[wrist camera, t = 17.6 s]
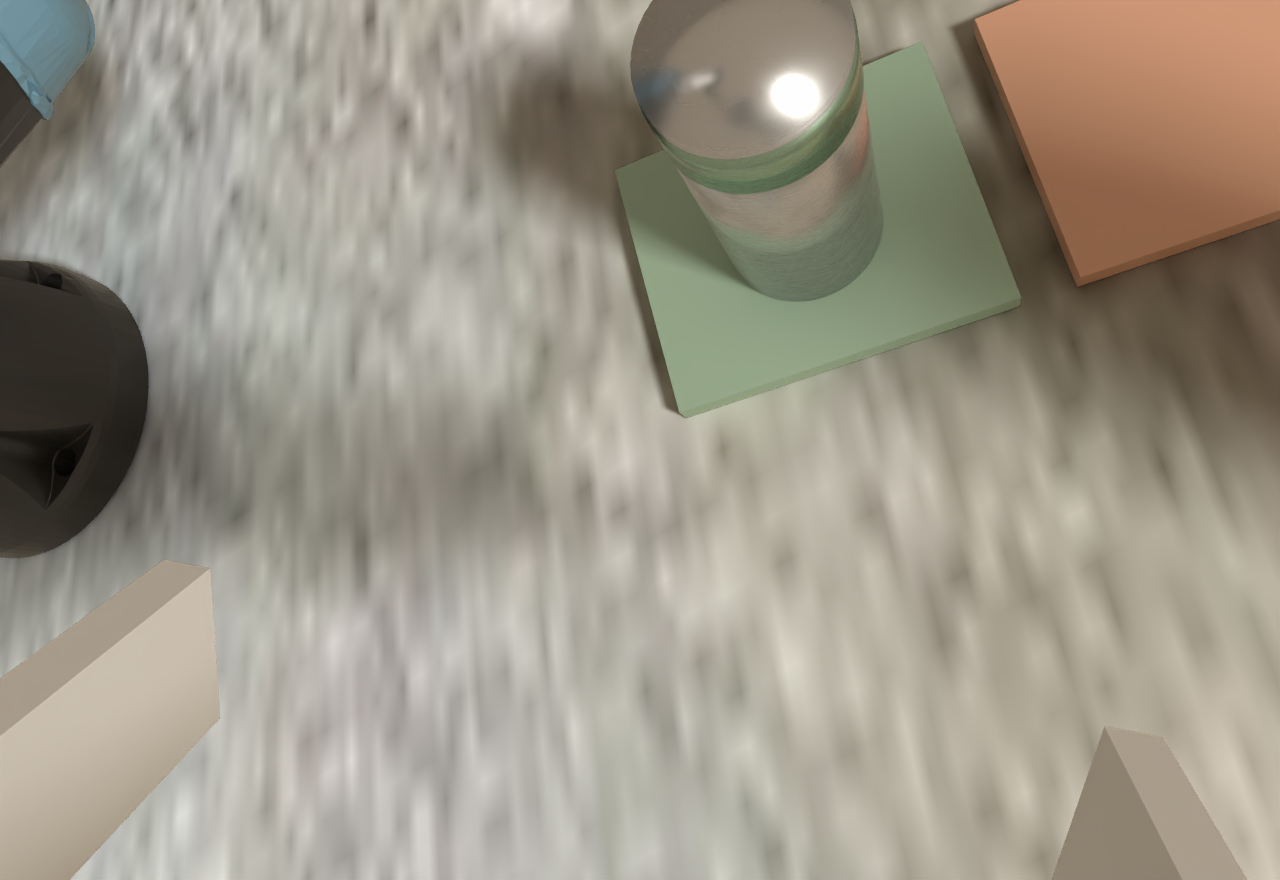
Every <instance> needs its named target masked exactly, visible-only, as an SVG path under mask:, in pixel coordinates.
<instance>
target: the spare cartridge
mask: <svg viewBox="0 0 1280 880" xmlns="http://www.w3.org/2000/svg"><path fill="white" fill-rule="evenodd" d="M630 68H631V80H632V84H633V89H634V92H635V95H636V97H637V100H638V103H639V105H640V108H641V110H642V113H643V115H644V116H645V118H646V120H647V122H648V123H649V125H650V127H651V129H652V130H653V132H654V134H655V135H656V137H657V139H658V140H659V142H660V144H661V146H662V147H663V149H664V151H665V152H666V154H667V156H668V157H669V159H670V160H671V161H672V163H673V164H674V165H675V166H676V168H677V169H678V171H679V173H680V175H681V176H682V178H683V180H684V181H685V183H686V185H687V186H688V188H689V190H690V192H691V193H692V195H693V197H694V198H695V200H696V202H697V204H698V205H699V207H700V209H701V210H702V212H703V214H704V216H705V217H706V219H707V221H708V222H709V224H710V226H711V228H712V229H713V231H714V233H715V234H716V236H717V238H718V240H719V241H720V243H721V245H722V246H723V248H724V250H725V251H726V253H727V255H728V257H729V258H730V260H731V262H732V263H733V265H734V267H735V269H736V270H737V272H738V273H739V275H740V276H741V277H742V278H743V280H744V281H746V282H747V283H748V284H749V285H750V286H751V287H752V288H754V289H755V290H757V291H758V292H760V293H762V294H764V295H766V296H769V297H771V298H774V299H778V300H783V301H791V302H804V301H811V300H817V299H820V298H823V297H827V296H829V295H831V294H834V293H836V292H838V291H839V290H841V289H843V288H845V287H846V286H848V285H849V284H850V283H852V282H853V281H854V280H855V279H856V278H857V277H858V276H859V275H860V274H861V273H862V272H863V271H864V270H865V269H866V267H867V266H868V265H869V263H870V262H871V260H872V259H873V257H874V255H875V253H876V251H877V249H878V246H879V243H880V240H881V237H882V230H883V212H882V204H881V198H880V191H879V184H878V178H877V171H876V164H875V158H874V151H873V144H872V138H871V131H870V124H869V118H868V111H867V104H866V98H865V91H864V73H863V65H862V58H861V52H860V45H859V38H858V31H857V24H856V19H855V15H854V12H853V9H852V6H851V3H850V0H653V1H652V2H651V4H650V5H649V7H648V9H647V10H646V12H645V13H644V15H643V18H642V20H641V22H640V24H639V26H638V29H637V32H636V35H635V38H634V41H633V46H632V51H631V63H630Z"/></svg>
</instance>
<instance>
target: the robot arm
mask: <svg viewBox="0 0 1280 880" xmlns="http://www.w3.org/2000/svg"><path fill="white" fill-rule="evenodd" d="M94 40H95V24H94V20H93V16H92V13H91V10H90V8H89V6H88V4H87V2H86V0H0V167H1V166H2V165H3V164H4V162H5V161H6V160H7V159H8V158H9V156H10V155H11V154H12V153H13V152H14V150H15V149H16V148H17V147H18V146H19V144H20V143H21V142H22V141H23V140H24V138H25V137H26V136H27V135H28V134H29V132H30V131H31V130H32V129H33V128H34V126H35V125H36V124H37V123H38V122H39V120H40V119H41V118H42V119H44V120H49V119H50V118H51V117H52V115H53V113H54V107H53V103H54V102H55V100H56V99H57V98H58V96H59V95H60V94H61V92H62V91H63V90H64V88H65V87H66V86H67V84H68V83H69V82H70V80H71V79H72V78H73V76H74V75H75V74H76V72H77V71H78V69H79V68H80V67H81V65H82V64H83V63H84V61H85V60H86V59H87V57H88V56H89V54H90V52H91V50H92V47H93V44H94ZM147 398H148V369H147V360H146V354H145V349H144V345H143V341H142V338H141V335H140V332H139V329H138V327H137V325H136V323H135V321H134V319H133V317H132V315H131V313H130V312H129V310H128V309H127V307H126V306H125V305H124V303H123V302H122V301H121V300H120V299H119V298H118V297H117V296H116V295H115V294H114V293H113V292H112V291H110V290H109V289H108V288H106V287H105V286H103V285H102V284H100V283H98V282H96V281H94V280H91V279H88V278H86V277H83V276H81V275H78V274H76V273H73V272H70V271H68V270H65V269H63V268H60V267H57V266H54V265H50V264H45V263H40V262H30V261H15V260H0V557H5V558H22V557H29V556H33V555H37V554H41V553H44V552H46V551H49V550H51V549H53V548H55V547H57V546H59V545H61V544H63V543H64V542H66V541H68V540H69V539H71V538H72V537H73V536H75V535H76V534H78V533H79V532H80V531H81V530H82V529H83V528H85V527H86V526H87V525H88V524H89V523H90V522H91V521H92V520H93V519H94V518H95V517H96V516H97V515H98V514H99V512H100V511H101V510H102V509H103V508H104V506H105V505H106V504H107V503H108V501H109V500H110V498H111V497H112V496H113V494H114V493H115V491H116V490H117V488H118V486H119V485H120V483H121V481H122V479H123V478H124V476H125V474H126V472H127V470H128V468H129V466H130V463H131V461H132V459H133V456H134V454H135V451H136V448H137V445H138V442H139V439H140V436H141V432H142V428H143V424H144V419H145V413H146V407H147ZM219 719H220V705H219V690H218V675H217V660H216V645H215V630H214V615H213V600H212V585H211V570H210V568H206V567H201V566H195V565H189V564H184V563H178V562H172V561H167V560H163V561H161V562H160V563H159V564H157V565H156V566H154V567H153V568H152V569H150V570H149V571H148V572H146V573H145V574H143V575H142V576H141V577H139V578H138V579H137V580H135V581H134V582H132V583H131V584H130V585H128V586H127V587H126V588H124V589H123V590H121V591H120V592H119V593H117V594H116V595H115V596H113V597H112V598H110V599H109V600H108V601H106V602H105V603H104V604H102V605H101V606H99V607H98V608H97V609H95V610H94V611H93V612H91V613H90V614H88V615H87V616H86V617H84V618H83V619H81V620H80V621H79V622H77V623H76V624H75V625H73V626H72V627H70V628H69V629H68V630H66V631H65V632H64V633H62V634H61V635H59V636H58V637H57V638H55V639H54V640H53V641H51V642H50V643H48V644H47V645H46V646H44V647H43V648H42V649H40V650H39V651H37V652H36V653H35V654H33V655H32V656H31V657H29V658H28V659H26V660H25V661H24V662H22V663H21V664H20V665H18V666H17V667H15V668H14V669H13V670H11V671H10V672H8V673H7V674H6V675H4V676H3V677H2V678H0V880H70V879H71V878H72V877H73V876H74V874H75V873H76V872H77V871H78V870H79V869H80V868H81V867H82V866H83V865H84V864H85V863H86V862H87V861H88V859H89V858H90V857H91V856H92V855H93V854H94V853H95V852H96V851H97V850H98V849H99V848H100V847H101V845H102V844H103V843H104V842H105V841H106V840H107V839H108V838H109V837H110V836H111V835H112V834H113V833H114V831H115V830H116V829H117V828H118V827H119V826H120V825H121V824H122V823H123V822H124V821H125V820H126V819H127V817H128V816H129V815H130V814H131V813H132V812H133V811H134V810H135V809H136V808H137V807H138V806H139V805H140V804H141V802H142V801H143V800H144V799H145V798H146V797H147V796H148V795H149V794H150V793H151V792H152V791H153V790H154V788H155V787H156V786H157V785H158V784H159V783H160V782H161V781H162V780H163V779H164V778H165V777H166V776H167V774H168V773H169V772H170V771H171V770H172V769H173V768H174V767H175V766H176V765H177V764H178V763H179V762H180V760H181V759H182V758H183V757H184V756H185V755H186V754H187V753H188V752H189V751H190V750H191V749H192V748H193V746H194V745H195V744H196V743H197V742H198V741H199V740H200V739H201V738H202V737H203V736H204V735H205V734H206V733H207V731H208V730H209V729H210V728H211V727H212V726H213V725H214V724H215V723H216V722H217V721H218V720H219ZM1052 880H1247V878H1246V877H1245V875H1244V873H1243V872H1242V870H1241V868H1240V867H1239V865H1238V863H1237V862H1236V860H1235V858H1234V856H1233V855H1232V853H1231V851H1230V850H1229V848H1228V846H1227V845H1226V843H1225V841H1224V840H1223V838H1222V836H1221V834H1220V833H1219V831H1218V829H1217V828H1216V826H1215V824H1214V823H1213V821H1212V819H1211V818H1210V816H1209V814H1208V813H1207V811H1206V809H1205V807H1204V806H1203V804H1202V802H1201V801H1200V799H1199V797H1198V796H1197V794H1196V792H1195V791H1194V789H1193V787H1192V785H1191V784H1190V782H1189V780H1188V779H1187V777H1186V775H1185V774H1184V772H1183V770H1182V769H1181V767H1180V765H1179V763H1178V762H1177V760H1176V758H1175V757H1174V755H1173V753H1172V752H1171V750H1170V748H1169V747H1168V745H1167V743H1166V741H1165V740H1164V738H1163V737H1162V736H1156V735H1150V734H1145V733H1139V732H1134V731H1128V730H1122V729H1117V728H1111V727H1105V726H1104V729H1103V732H1102V735H1101V738H1100V741H1099V744H1098V747H1097V750H1096V752H1095V755H1094V758H1093V761H1092V764H1091V767H1090V770H1089V773H1088V776H1087V779H1086V782H1085V784H1084V787H1083V790H1082V793H1081V796H1080V799H1079V802H1078V805H1077V808H1076V811H1075V813H1074V816H1073V819H1072V822H1071V825H1070V828H1069V831H1068V834H1067V837H1066V840H1065V843H1064V845H1063V848H1062V851H1061V854H1060V857H1059V860H1058V863H1057V866H1056V869H1055V872H1054V874H1053V877H1052Z"/></svg>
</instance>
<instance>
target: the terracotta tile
mask: <svg viewBox="0 0 1280 880" xmlns="http://www.w3.org/2000/svg"><path fill="white" fill-rule="evenodd" d="M975 37H976V40H977V42H978V44H979V47H980V49H981V52H982V54H983V57H984V59H985V62H986V64H987V67H988V69H989V72H990V74H991V76H992V79H993V81H994V84H995V86H996V89H997V91H998V94H999V96H1000V99H1001V101H1002V104H1003V106H1004V108H1005V111H1006V113H1007V116H1008V118H1009V121H1010V123H1011V126H1012V128H1013V131H1014V133H1015V136H1016V138H1017V140H1018V143H1019V145H1020V148H1021V150H1022V153H1023V155H1024V158H1025V160H1026V163H1027V165H1028V168H1029V170H1030V172H1031V175H1032V177H1033V180H1034V182H1035V185H1036V187H1037V190H1038V192H1039V195H1040V197H1041V200H1042V202H1043V204H1044V207H1045V209H1046V212H1047V214H1048V217H1049V219H1050V222H1051V224H1052V227H1053V229H1054V231H1055V234H1056V236H1057V239H1058V241H1059V244H1060V246H1061V249H1062V251H1063V254H1064V256H1065V259H1066V261H1067V263H1068V266H1069V268H1070V271H1071V273H1072V276H1073V278H1074V281H1075V283H1076V286H1077V287H1079V286H1082V285H1085V284H1088V283H1091V282H1094V281H1097V280H1100V279H1103V278H1106V277H1109V276H1112V275H1115V274H1118V273H1121V272H1124V271H1127V270H1130V269H1133V268H1136V267H1139V266H1142V265H1145V264H1148V263H1151V262H1154V261H1157V260H1160V259H1163V258H1166V257H1169V256H1172V255H1175V254H1178V253H1180V252H1183V251H1186V250H1189V249H1192V248H1195V247H1198V246H1201V245H1204V244H1207V243H1210V242H1213V241H1216V240H1219V239H1222V238H1225V237H1228V236H1231V235H1234V234H1237V233H1240V232H1243V231H1246V230H1249V229H1252V228H1255V227H1258V226H1261V225H1264V224H1267V223H1270V222H1273V221H1276V220H1279V219H1280V0H1020V1H1017V2H1015V3H1012V4H1010V5H1008V6H1005V7H1003V8H1000V9H998V10H996V11H993V12H991V13H988V14H986V15H984V16H981V17H979V18H976V19H975Z"/></svg>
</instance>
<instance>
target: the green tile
mask: <svg viewBox="0 0 1280 880" xmlns="http://www.w3.org/2000/svg"><path fill="white" fill-rule="evenodd" d="M863 73H864V91H865V98H866V104H867V111H868V118H869V124H870V131H871V138H872V144H873V151H874V158H875V164H876V171H877V178H878V184H879V191H880V198H881V204H882V212H883V230H882V237H881V240H880V243H879V246H878V249H877V251H876V253H875V255H874V257H873V259H872V260H871V262H870V263H869V265H868V266H867V267H866V269H865V270H864V271H863V272H862V273H861V274H860V275H859V276H858V277H857V278H856V279H855V280H854V281H853V282H852V283H850V284H849V285H848V286H846V287H845V288H843V289H841V290H839V291H838V292H836V293H834V294H831V295H829V296H827V297H823V298H820V299H817V300H811V301H804V302H791V301H783V300H778V299H774V298H771V297H769V296H766V295H764V294H762V293H760V292H758V291H757V290H755V289H754V288H752V287H751V286H750V285H749V284H748V283H747V282H746V281H744V280H743V278H742V277H741V276H740V275H739V273H738V272H737V270H736V269H735V267H734V265H733V263H732V262H731V260H730V258H729V257H728V255H727V253H726V251H725V250H724V248H723V246H722V245H721V243H720V241H719V240H718V238H717V236H716V234H715V233H714V231H713V229H712V228H711V226H710V224H709V222H708V221H707V219H706V217H705V216H704V214H703V212H702V210H701V209H700V207H699V205H698V204H697V202H696V200H695V198H694V197H693V195H692V193H691V192H690V190H689V188H688V186H687V185H686V183H685V181H684V180H683V178H682V176H681V175H680V173H679V171H678V169H677V168H676V166H675V165H674V164H673V163H672V161H671V160H670V159H669V157H668V156H667V154H666V152H665V151H664V149H663V150H661V151H659V152H656V153H654V154H652V155H649V156H647V157H644V158H642V159H640V160H637V161H635V162H632V163H630V164H628V165H625V166H623V167H620V168H618V169H616V170H614V171H615V175H616V178H617V182H618V186H619V190H620V193H621V197H622V201H623V205H624V208H625V212H626V216H627V220H628V223H629V227H630V231H631V234H632V238H633V242H634V246H635V249H636V253H637V257H638V261H639V264H640V268H641V272H642V276H643V279H644V283H645V287H646V290H647V294H648V298H649V302H650V305H651V309H652V313H653V317H654V320H655V324H656V328H657V332H658V335H659V339H660V343H661V346H662V350H663V354H664V358H665V361H666V365H667V369H668V373H669V376H670V380H671V384H672V388H673V391H674V395H675V399H676V402H677V406H678V410H679V413H680V414H682V415H683V416H684V417H686V418H688V417H691V416H694V415H697V414H700V413H703V412H706V411H709V410H712V409H715V408H718V407H721V406H724V405H727V404H730V403H733V402H736V401H739V400H742V399H745V398H748V397H751V396H754V395H757V394H760V393H763V392H766V391H769V390H772V389H775V388H778V387H781V386H784V385H787V384H790V383H793V382H796V381H799V380H802V379H805V378H808V377H810V376H813V375H816V374H819V373H822V372H825V371H828V370H831V369H834V368H837V367H840V366H843V365H846V364H849V363H852V362H855V361H858V360H861V359H864V358H867V357H870V356H873V355H876V354H879V353H882V352H885V351H888V350H891V349H894V348H897V347H900V346H903V345H906V344H909V343H912V342H915V341H918V340H921V339H924V338H927V337H930V336H933V335H936V334H939V333H942V332H945V331H948V330H951V329H954V328H957V327H960V326H963V325H966V324H969V323H972V322H975V321H978V320H981V319H984V318H987V317H990V316H993V315H995V314H998V313H1001V312H1004V311H1007V310H1010V309H1013V308H1016V307H1019V306H1020V303H1021V295H1020V292H1019V290H1018V287H1017V284H1016V282H1015V279H1014V277H1013V274H1012V272H1011V269H1010V266H1009V264H1008V261H1007V259H1006V256H1005V253H1004V251H1003V248H1002V246H1001V243H1000V241H999V238H998V235H997V233H996V230H995V228H994V225H993V222H992V220H991V217H990V215H989V212H988V210H987V207H986V204H985V202H984V199H983V197H982V194H981V192H980V189H979V186H978V184H977V181H976V179H975V176H974V173H973V171H972V168H971V166H970V163H969V161H968V158H967V155H966V153H965V150H964V148H963V145H962V142H961V140H960V137H959V135H958V132H957V130H956V127H955V124H954V122H953V119H952V117H951V114H950V111H949V109H948V106H947V104H946V101H945V99H944V96H943V93H942V91H941V88H940V86H939V83H938V80H937V78H936V75H935V73H934V70H933V68H932V65H931V62H930V60H929V57H928V55H927V52H926V49H925V47H924V44H923V42H919V43H917V44H914V45H912V46H910V47H907V48H905V49H902V50H900V51H898V52H895V53H893V54H890V55H888V56H886V57H883V58H881V59H879V60H876V61H874V62H871V63H869V64H867V65H864V66H863Z"/></svg>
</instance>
